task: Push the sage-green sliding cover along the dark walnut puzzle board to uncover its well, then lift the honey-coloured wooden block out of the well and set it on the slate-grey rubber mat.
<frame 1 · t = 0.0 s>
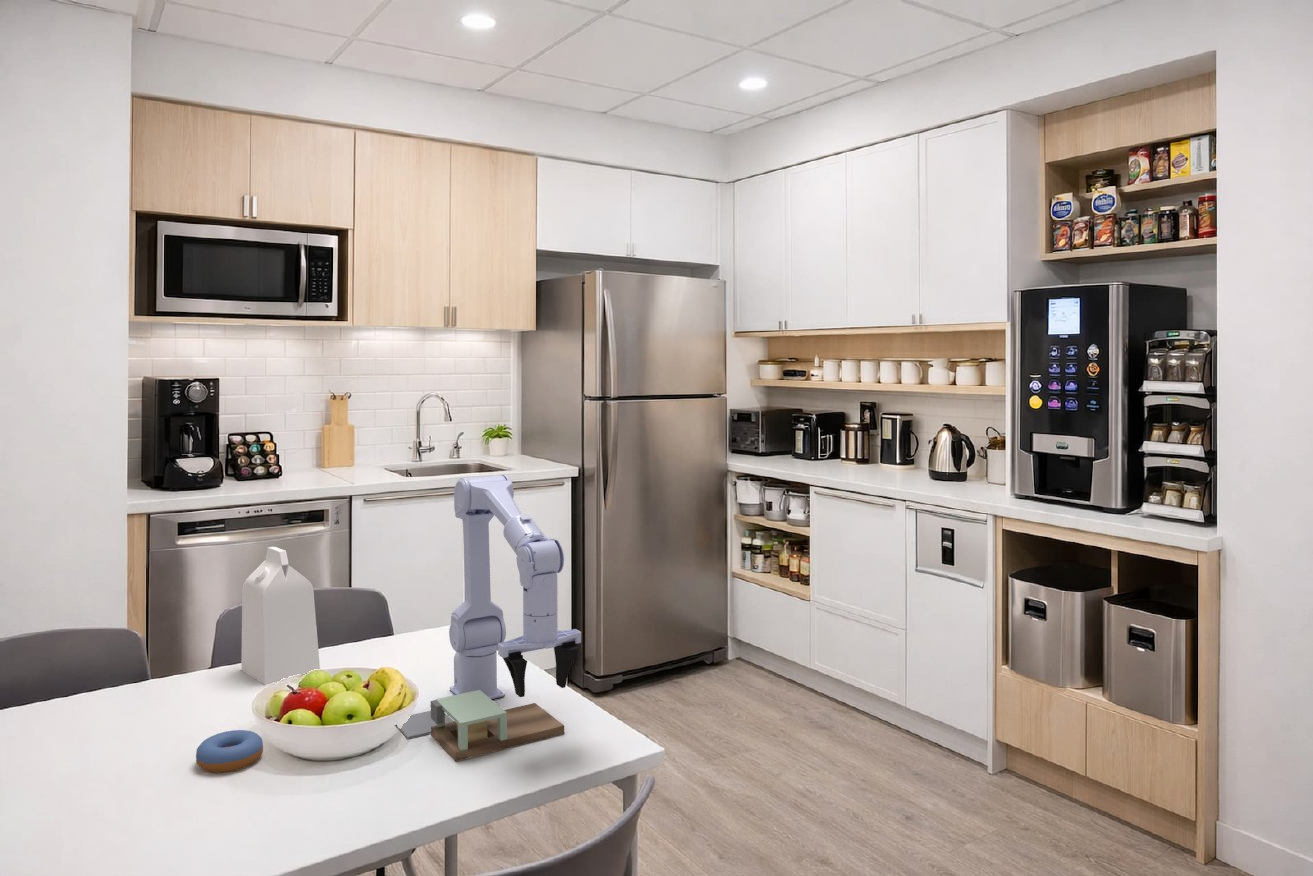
hand: (540, 690, 148), 10 cm above the table, tool pointing down, fingers open, 7 cm apart
board: (498, 734, 154), on the table
mat: (424, 724, 158), on the table
doughnut: (230, 763, 144), on the table
block: (472, 742, 151), resting in board
milk: (280, 671, 185), on the table
cover: (468, 719, 151), point 4 cm above the table, slide at 0.0 cm
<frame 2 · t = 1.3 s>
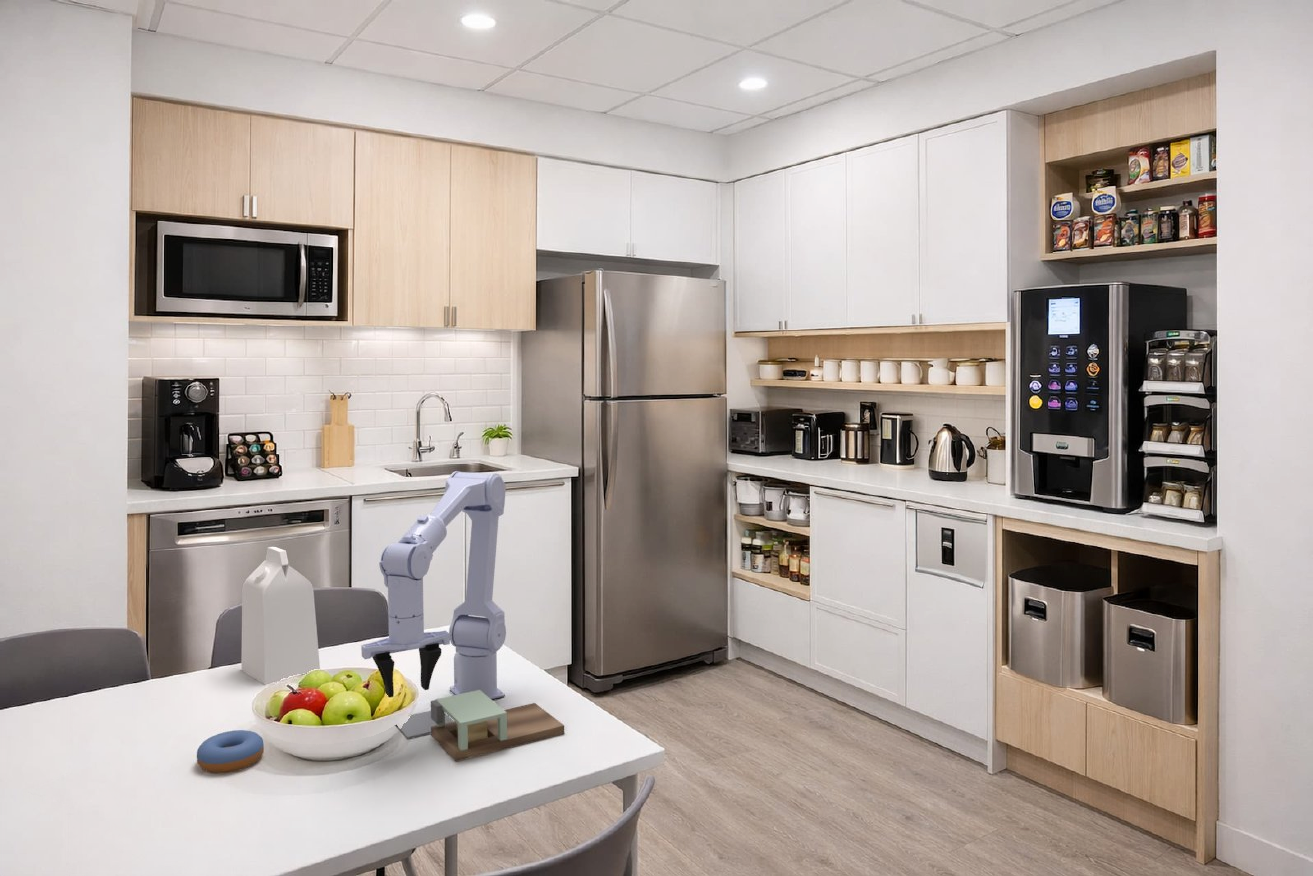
hand: (407, 691, 149), 9 cm above the table, tool pointing down, fingers open, 5 cm apart
nothing on the table moved.
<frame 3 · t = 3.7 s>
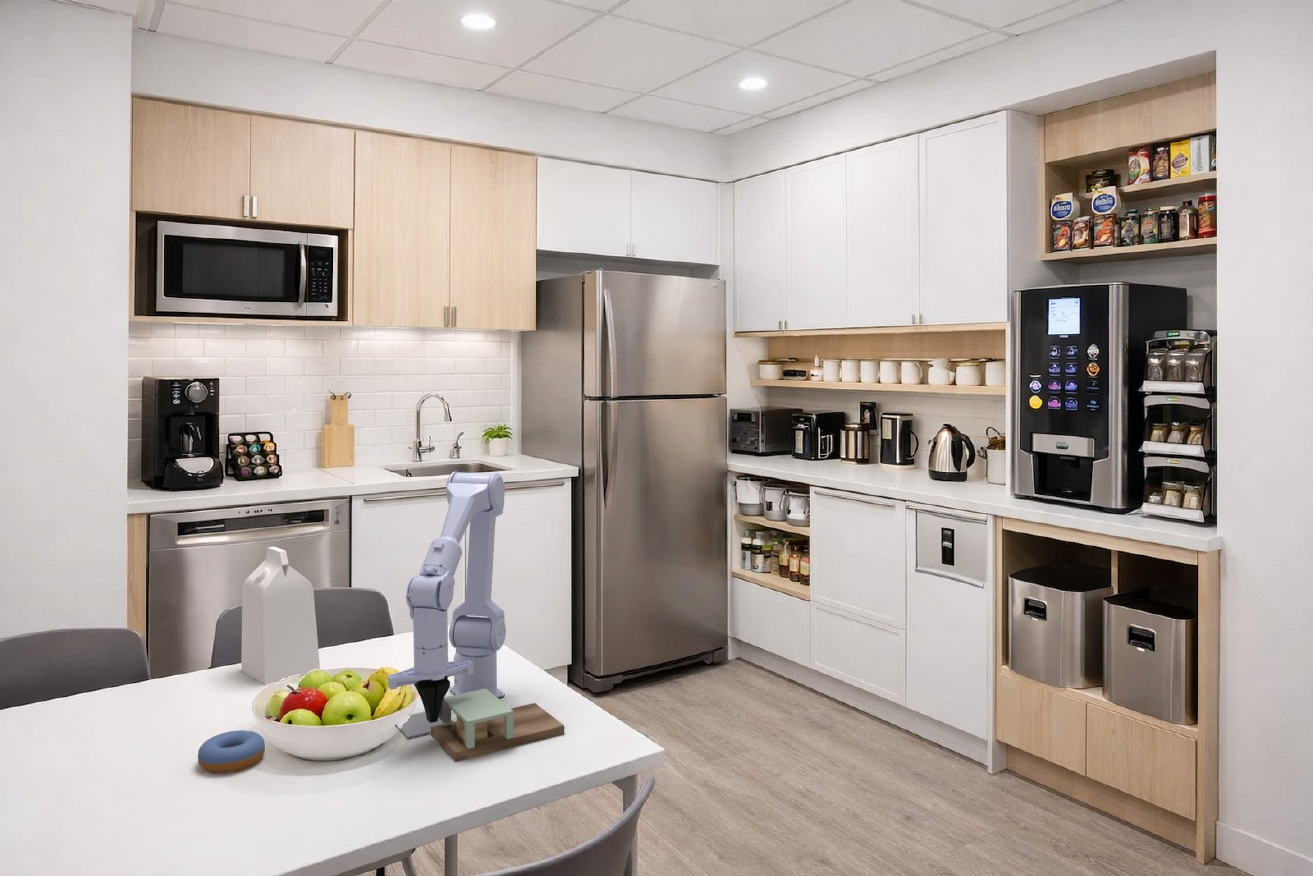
hand: (432, 720, 152), 3 cm above the table, tool pointing down, fingers closed
cover: (474, 718, 152), point 4 cm above the table, slide at 1.2 cm, touching gripper
everything else where it was.
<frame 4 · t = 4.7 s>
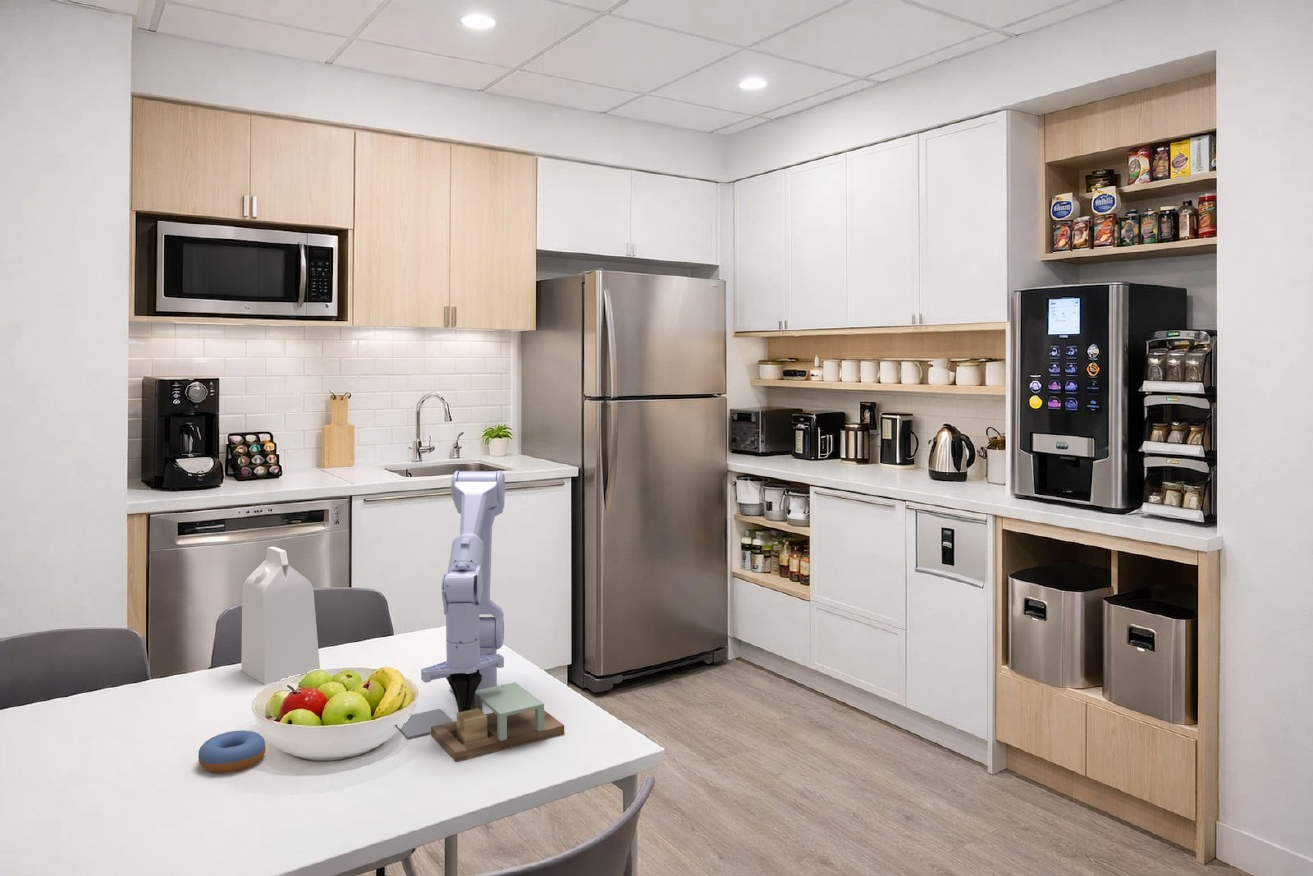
hand: (463, 713, 155), 3 cm above the table, tool pointing down, fingers closed
cover: (505, 710, 155), point 4 cm above the table, slide at 7.0 cm, touching gripper
everything else where it was.
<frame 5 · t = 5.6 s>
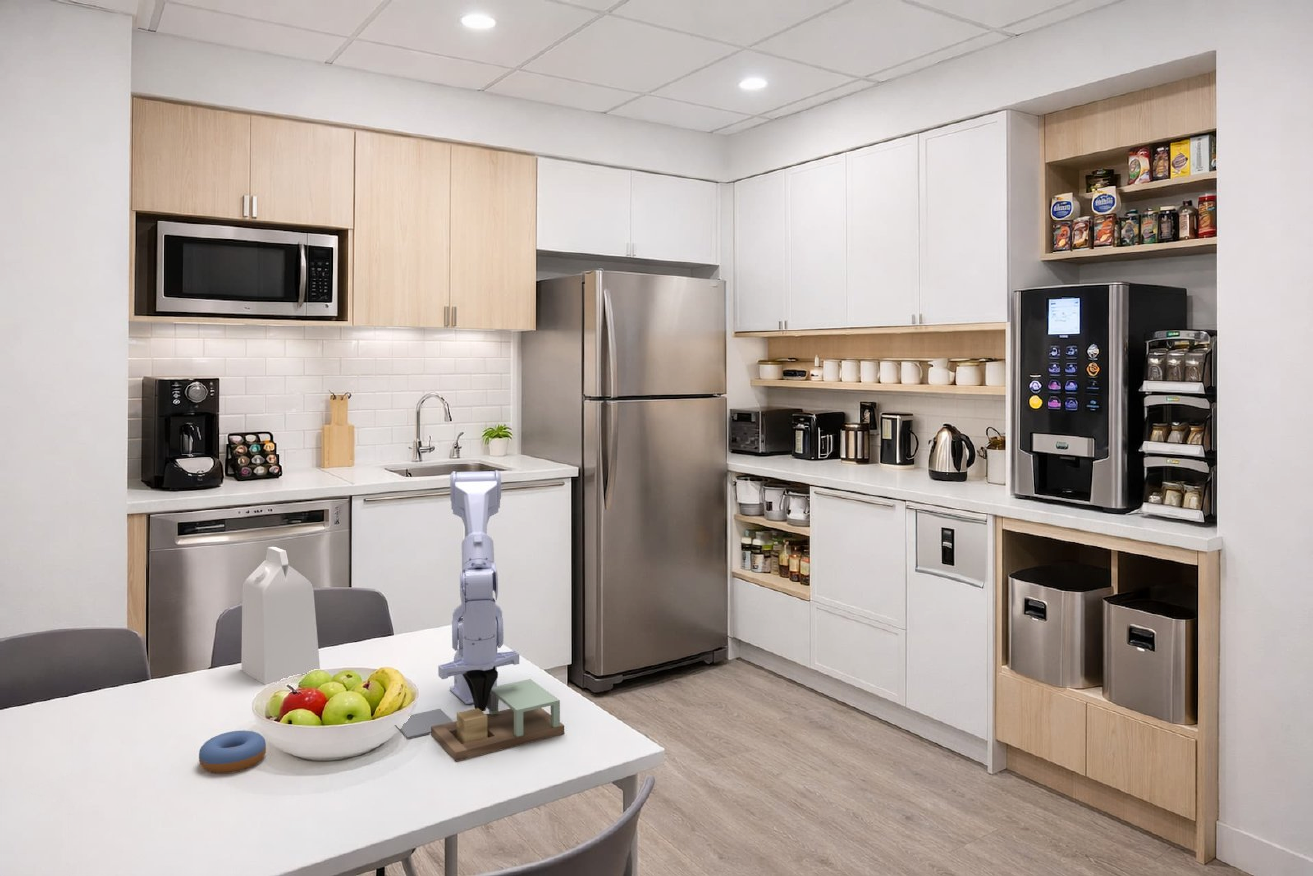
hand: (480, 709, 157), 3 cm above the table, tool pointing down, fingers closed
cover: (521, 707, 157), point 4 cm above the table, slide at 10.0 cm, touching gripper
everything else where it was.
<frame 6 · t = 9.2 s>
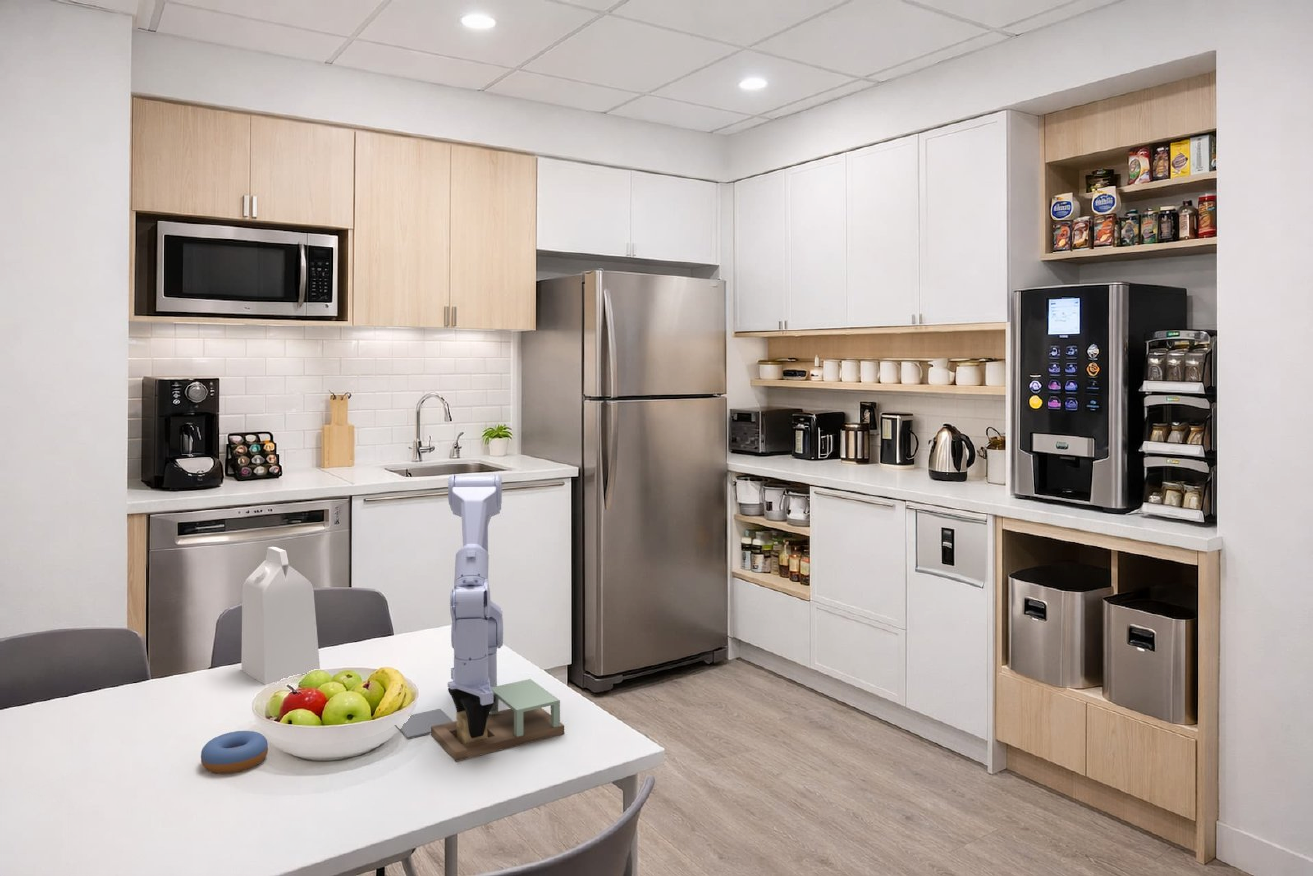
hand: (471, 731, 151), 2 cm above the table, tool pointing down, fingers closed on block, 4 cm apart
block: (472, 742, 151), resting in board, touching gripper
cover: (521, 707, 157), point 4 cm above the table, slide at 10.0 cm
everything else where it was.
when the fingers open (4 cm above the table, at t = 12.7 s): block drops 1 cm, resting on mat.
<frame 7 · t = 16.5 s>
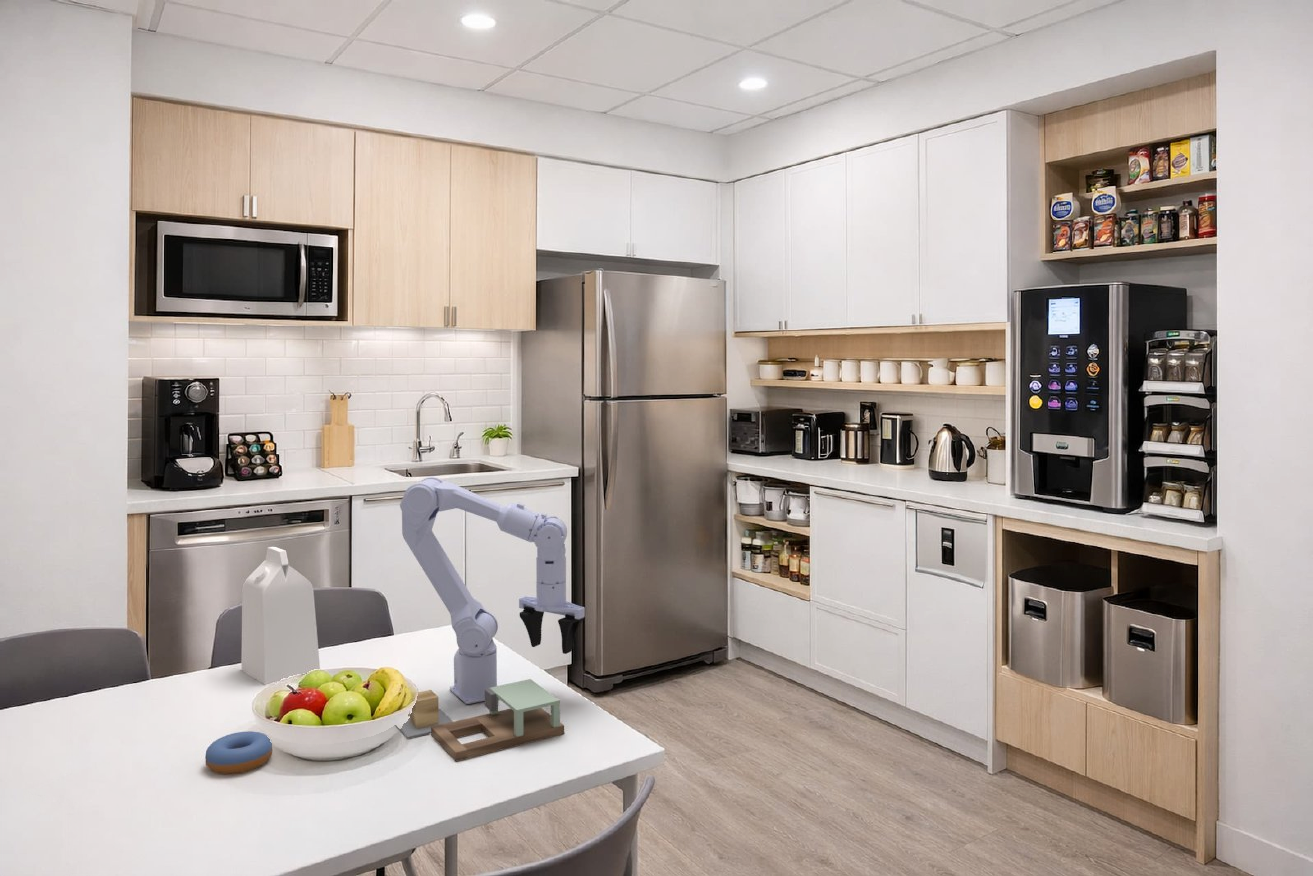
hand: (551, 648, 172), 9 cm above the table, tool pointing down, fingers open, 7 cm apart
block: (424, 722, 158), resting on mat
at the end: cover slide at 10.0 cm; block inside the target area on the mat (0.1 cm from its centre), point 0.4 cm above the mat's base; block tilted 0° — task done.
